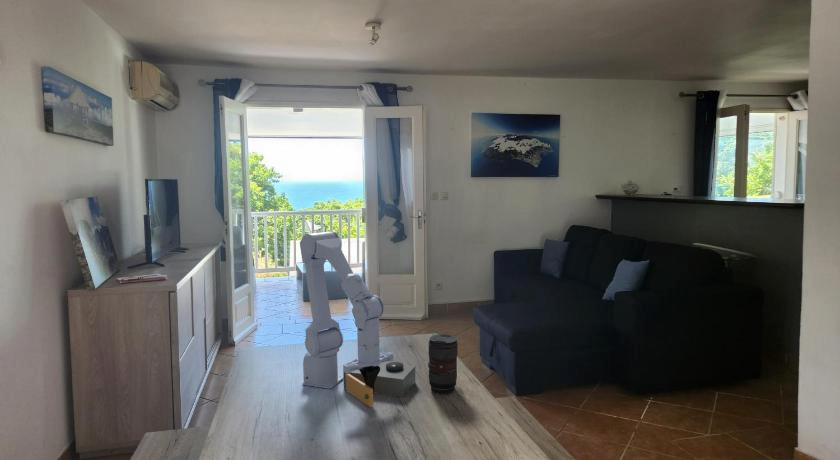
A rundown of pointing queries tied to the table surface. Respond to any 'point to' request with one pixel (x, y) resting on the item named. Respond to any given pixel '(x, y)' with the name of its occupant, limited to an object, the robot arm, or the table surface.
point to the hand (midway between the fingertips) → (369, 392)
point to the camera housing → (390, 378)
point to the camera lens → (443, 363)
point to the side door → (359, 390)
